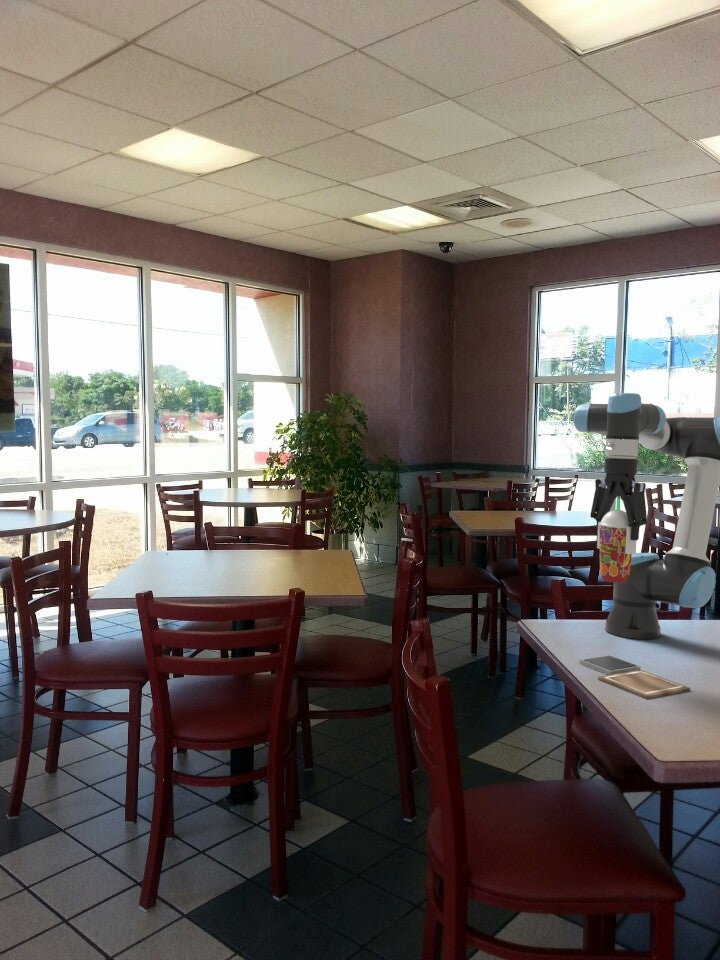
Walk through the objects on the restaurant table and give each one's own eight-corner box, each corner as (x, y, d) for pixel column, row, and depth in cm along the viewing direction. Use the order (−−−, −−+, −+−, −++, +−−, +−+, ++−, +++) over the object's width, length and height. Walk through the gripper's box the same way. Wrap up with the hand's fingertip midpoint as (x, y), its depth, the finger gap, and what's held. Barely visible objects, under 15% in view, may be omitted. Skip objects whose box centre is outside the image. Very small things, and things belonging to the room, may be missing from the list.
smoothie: (589, 577, 190) (593, 497, 188) (615, 576, 193) (619, 497, 192) (612, 584, 182) (617, 500, 181) (639, 582, 185) (644, 500, 184)
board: (640, 672, 185) (640, 669, 185) (690, 690, 173) (690, 687, 173) (598, 679, 179) (598, 676, 179) (646, 698, 166) (646, 695, 166)
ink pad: (609, 659, 196) (609, 654, 195) (640, 670, 187) (640, 665, 187) (579, 663, 191) (580, 659, 191) (610, 675, 182) (610, 670, 182)
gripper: (578, 455, 193) (573, 545, 194) (645, 459, 174) (639, 558, 176) (599, 455, 197) (595, 543, 198) (668, 459, 178) (662, 557, 179)
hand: (615, 550), depth 187 cm, fingers closed on smoothie, 8 cm apart
